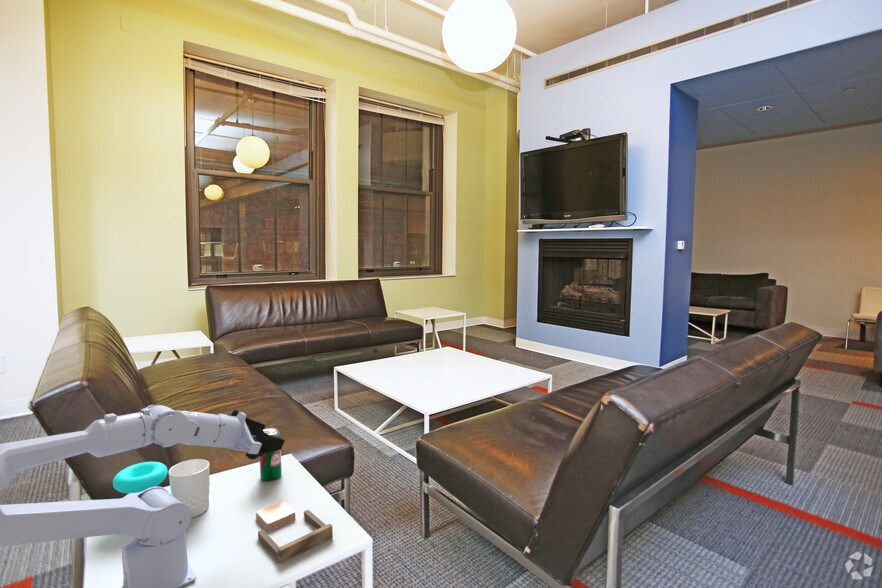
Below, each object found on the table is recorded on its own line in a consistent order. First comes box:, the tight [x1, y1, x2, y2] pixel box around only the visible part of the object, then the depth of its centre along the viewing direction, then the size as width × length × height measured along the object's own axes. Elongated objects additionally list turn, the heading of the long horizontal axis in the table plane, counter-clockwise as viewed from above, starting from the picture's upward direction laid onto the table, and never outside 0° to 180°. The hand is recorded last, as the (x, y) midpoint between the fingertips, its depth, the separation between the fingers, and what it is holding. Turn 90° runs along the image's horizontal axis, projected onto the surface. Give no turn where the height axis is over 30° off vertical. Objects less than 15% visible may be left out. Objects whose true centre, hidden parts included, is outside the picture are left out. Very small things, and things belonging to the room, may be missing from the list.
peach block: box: [255, 500, 296, 532], centre depth 99 cm, size 6×6×2 cm
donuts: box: [112, 461, 169, 494], centre depth 100 cm, size 10×10×10 cm
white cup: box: [168, 458, 210, 519], centre depth 101 cm, size 8×8×10 cm
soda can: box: [259, 427, 283, 482], centre depth 116 cm, size 5×5×12 cm
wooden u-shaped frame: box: [257, 509, 334, 564], centre depth 92 cm, size 11×10×2 cm
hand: (272, 436), depth 96 cm, fingers open, 7 cm apart
